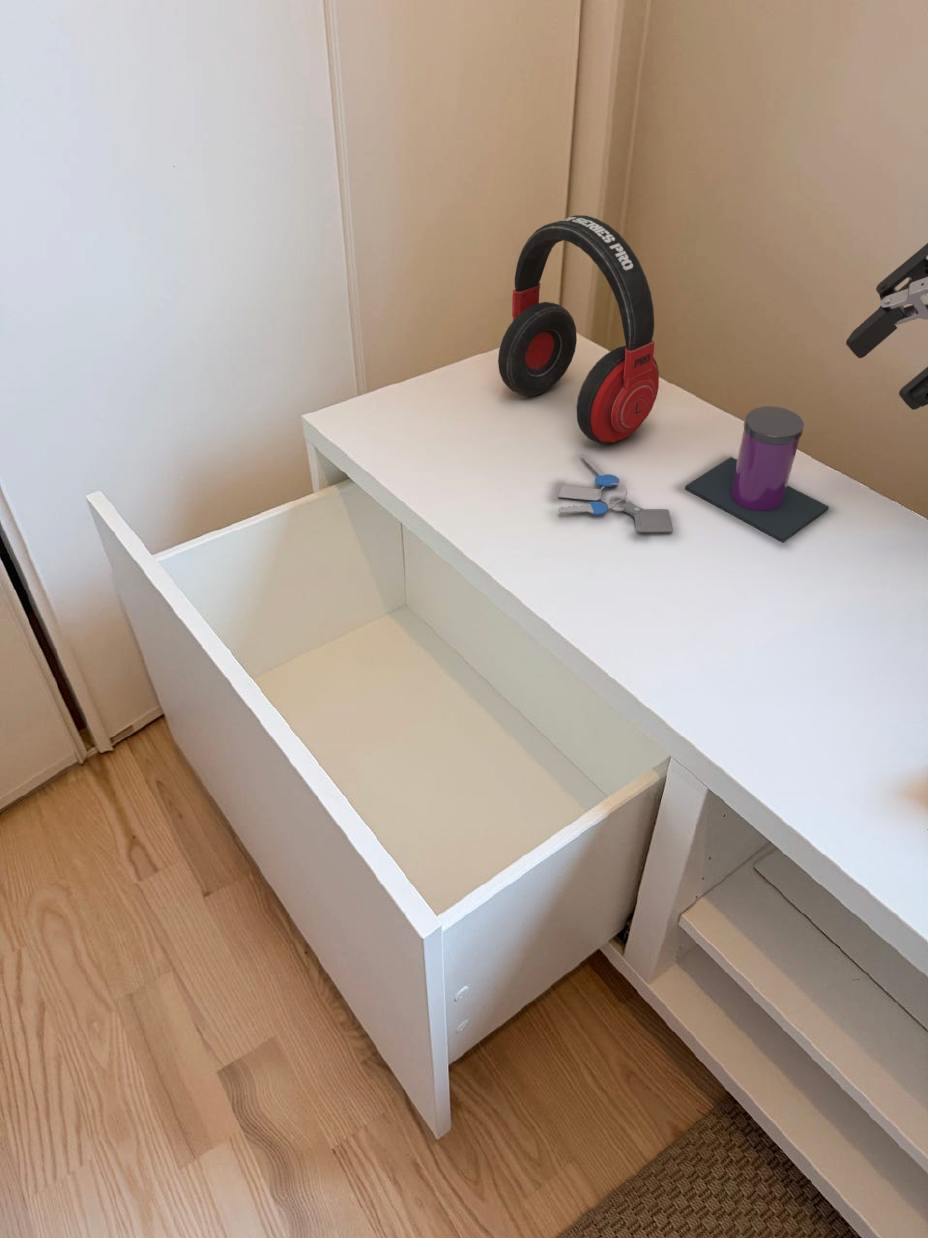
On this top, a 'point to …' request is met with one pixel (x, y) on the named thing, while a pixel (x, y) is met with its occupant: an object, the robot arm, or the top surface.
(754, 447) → the tin
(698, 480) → the mat
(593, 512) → the key chain
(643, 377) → the headphones
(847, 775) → the top surface
